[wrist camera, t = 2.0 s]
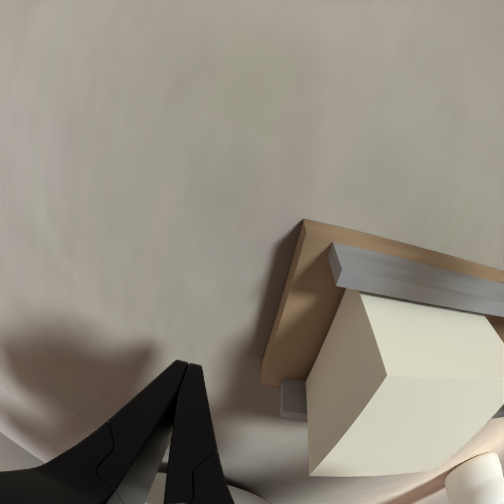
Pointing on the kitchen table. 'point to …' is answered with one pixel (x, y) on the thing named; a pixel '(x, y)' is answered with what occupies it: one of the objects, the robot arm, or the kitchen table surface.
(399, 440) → the block
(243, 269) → the kitchen table surface
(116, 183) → the kitchen table surface
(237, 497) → the soup bowl
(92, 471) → the robot arm
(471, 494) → the water bottle
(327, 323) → the track
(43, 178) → the kitchen table surface
